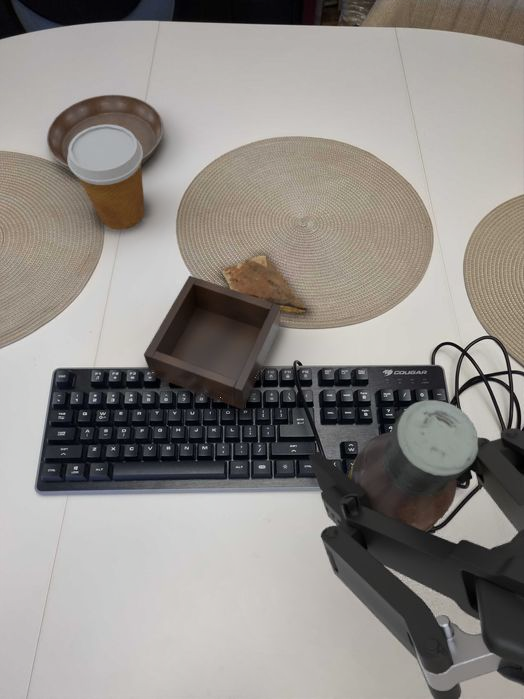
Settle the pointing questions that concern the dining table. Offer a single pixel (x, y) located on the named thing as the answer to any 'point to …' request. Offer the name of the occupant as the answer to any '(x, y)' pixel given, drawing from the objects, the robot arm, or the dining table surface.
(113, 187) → the disposable coffee cup
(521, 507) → the robot arm
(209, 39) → the dining table surface
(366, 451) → the sauce bottle
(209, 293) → the box
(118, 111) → the plant saucer
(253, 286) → the quesadilla slice
